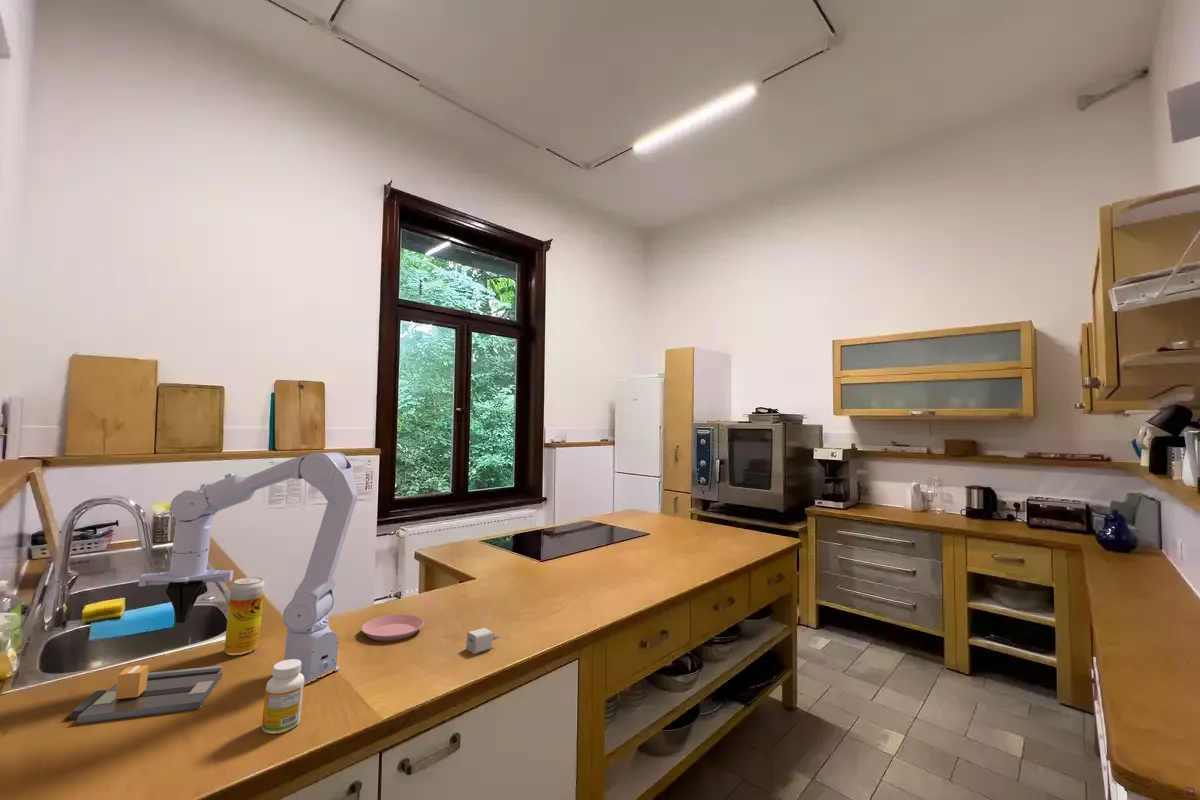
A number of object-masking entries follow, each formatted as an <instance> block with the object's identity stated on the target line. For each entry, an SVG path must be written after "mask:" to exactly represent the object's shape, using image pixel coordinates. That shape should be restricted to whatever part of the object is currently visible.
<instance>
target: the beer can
mask: <svg viewBox="0 0 1200 800" xmlns="http://www.w3.org/2000/svg"><path fill="white" fill-rule="evenodd" d="M265 588H266V583H265V581H264V578H263V577H258V576H255V577H253V576H252V577H251V576H250V577H243V578H238V579H235V580H234V581H233V584H232V585H231V586H230V595H229V605H228V612H227V623H226V630H225V631H226V632H225V639H224V650H223V651H224V652H225V653H226V652H227V653H241V652H244V651H249V650H251V649H254V648H256V647H257V646H258V647H259V643H260V635H261V626H262V625H261V624H262V616H263V606H264V605H263V604H264V596H265ZM256 649H257V648H256ZM227 653H226V654H227Z"/></svg>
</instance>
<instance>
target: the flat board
mask: <svg viewBox="0 0 1200 800" xmlns="http://www.w3.org/2000/svg"><path fill="white" fill-rule="evenodd" d="M223 667H224V665H216V666H215V665H213V666H204V667H195V668H184V669H183V668H182V669H175V670H174V669H172V670H164V671H155V672H154V671H153V672H148V678H147V681H151V680H161V679H171V678H180V677H190V676H200V675H209V674H218V673H219V672H220V670H221V669H222V668H223ZM222 670H223V669H222ZM107 691H108V689H100V690H96V691H94V692H93V693H92V694H90V695H89V696H88V697H87V698H86V699H84V701H83V702H80V704H79V705H78V706H76V707H75V708H74V709H73V710H71V713H70V720H76V719H77V718H78V716H79V715H80V714H81V713H82V712H83V711H85V710H86V709H87V708H88V707H89V706H90V705H92V704H93V703H94V702H95V701H96V700H97V699H98V698H100V697H101V696H102V695H103V694H104V693H105V692H107Z"/></svg>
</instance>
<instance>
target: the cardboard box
mask: <svg viewBox="0 0 1200 800" xmlns="http://www.w3.org/2000/svg"><path fill="white" fill-rule="evenodd" d="M149 668H150V665H149V664H146V665H134V666H127V667H126V668H124V669H123V670H122V671H121V672H120V673H119V674H118V676H117V682H116V684H117V690H116V698H115V699H123V698H132V697H138V696H139V695H140V694H141V693H142V692H143V691H144V690H145V689H146V686H147V678H148V673H149Z"/></svg>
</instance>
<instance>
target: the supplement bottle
mask: <svg viewBox="0 0 1200 800" xmlns="http://www.w3.org/2000/svg"><path fill="white" fill-rule="evenodd" d="M300 671H301V661H300V660H297V659H289V660H280V661H279V662H276V663H275V664H274V665H273V667H272V672H273V674H272V673H271V676H272V677H271V678H270V679H269V680H268V681H267V683H266V686H265V693H264V702H263V710H262V711H263V713H262V722H261V730H262V729H263V730H264V731H266V732H281V731H284V730H288V729H291V728H293V727H295V726H296V725H297V726H298V725H299V724H300V722H301V718H302V710H303V699H304V687H305V685H304V676H303V675H302V674H301V673H299V672H300ZM297 726H296V727H297ZM296 727H295V728H296ZM293 729H294V728H293ZM263 730H262V731H263ZM291 730H292V729H291Z"/></svg>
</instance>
